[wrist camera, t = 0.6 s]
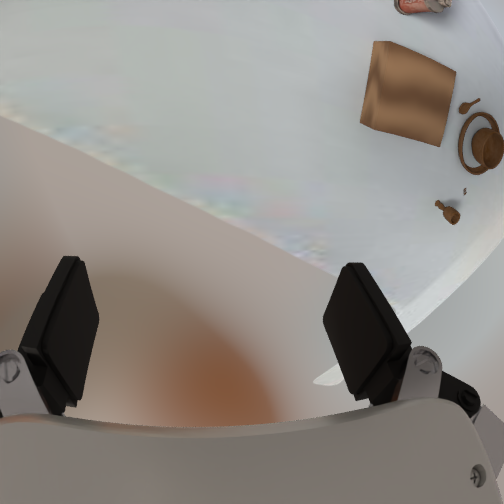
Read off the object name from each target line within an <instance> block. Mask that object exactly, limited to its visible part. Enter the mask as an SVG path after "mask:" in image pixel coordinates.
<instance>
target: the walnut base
mask: <svg viewBox="0 0 504 504" xmlns="http://www.w3.org/2000/svg"><path fill="white" fill-rule="evenodd" d="M455 77H456V71H454V70H452V69H450V68H448V67H446V66H444V65H442V64H440V63H438V62H436V61H434V60H432V59H430V58H428V57H426V56H424V55H422V54H419V53H417V52H415V51H413V50H410V49H408V48H406V47H403V46H401V45H398V44H396V43H393V42H391V41H374V43H373V50H372V57H371V63H370V69H369V75H368V81H367V87H366V92H365V98H364V103H363V108H362V114H361V119H360V123H362V124H364V125H366V126H368V127H370V128H372V129H374V130H378V131H382V132H386V133H391V134H395V135H399V136H402V137H406V138H410V139H413V140H417V141H421V142H424V143H427V144H431V145H434V146H437V147H440V145H441V141H442V137H443V134H444V130H445V125H446V121H447V117H448V113H449V108H450V103H451V98H452V93H453V88H454V83H455Z"/></svg>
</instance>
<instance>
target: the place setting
mask: <svg viewBox="0 0 504 504" xmlns="http://www.w3.org/2000/svg"><path fill="white" fill-rule="evenodd" d="M479 101H480V98H478V99H477V100H475V101H474V102H472V103H463V104H462V105H461V106H460V108H459V113H461V114H466V113H467V112H468V110H469V108H470V107H471V106H472V105H474V104H475V103H477V102H479ZM477 116H483V117H485V118H486V119H487V120H488V121H489V123H490V124H491V127H492V129H489V128H482V129H480V130H479V131H478V132H477V133H476V134H475V135H474V137H473V139H472V152H473V156H474V158H475V159H476V161H477V162H478V163H480V164H481V166H479V167H476V168H471V167H469V166H467V165H466V164H465V163H464V159H463V152H462V148H463V140H464V136H465V132H466V130H467V128H468V126H469V124H470V123H471V122H472V120H473V119H474V118H476V117H477ZM458 151H459V157H460V160H461V163H462V165H463V166H464V168H465V169H466V170H467V171H468V172H470V173H471V174H474V175H480V174H483V173H484V172H486V171H487V170H488V169H493V168H495V167H496V166H497V165H498V164H499V163H500V161H501V159H502V157H503V154H504V140H503V137H502V136H501V134H500V132H499V127H498V125H497V122H496V120H495V119H494V118H493V117H492V116H491V115H490V114H488V113H484V112H478V113H475V114H473V115H472V116H470V117H469V118H468V119H467V120H466V122H465V123H464V125H463V127H462V130H461V133H460V136H459V142H458ZM465 189H466V188H465ZM465 189H464V190H465ZM464 190H463V191H464ZM464 192H466V190H465V191H464ZM466 193H467V192H466ZM466 193H465V194H466ZM465 194H464V195H465ZM435 206H438V207H439V209H442V210H443V215H444V217H445V219H446V220H447V221H448V222H449V223H451V224H452V225H455V224H456V223H457V222H458V221H459V219H460V213H459V212H458V211H457V210H455V209H454V208H452V207H450V206H448V207H444V205H443V204H442V203H440V201H439V200H437V201H436V202H435Z"/></svg>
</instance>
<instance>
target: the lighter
mask: <svg viewBox="0 0 504 504" xmlns="http://www.w3.org/2000/svg"><path fill="white" fill-rule="evenodd" d="M451 2H452V0H394V6H395V9H396V10H397V11H398V12H399V13H400V14H403V15H408V14H411V13H418V12H434V13H440V12H442V11H443V9H444V7H451Z"/></svg>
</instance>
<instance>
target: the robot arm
mask: <svg viewBox="0 0 504 504" xmlns="http://www.w3.org/2000/svg"><path fill="white" fill-rule="evenodd" d="M98 324H99V314H98V311H97V307H96V304H95V301H94V297H93V293H92V290H91V286H90V282H89V278H88V274H87V270H86V266H85V263H84V261H81V260H80V258H79V257H78V256H63V258H62V259H61V261H60V263H59V264H58V266H57V268H56V270H55V272H54V274H53V276H52V278H51V280H50V282H49V284H48V286H47V288H46V290H45V292H44V293H43V294H42V295H41V297H40V299H39V302H38V303H37V305H36V308H35V310H34V312H33V314H32V316H31V319H30V321H29V324H28V326H27V328H26V330H25V333H24V336H23V338H22V341H21V343H20V345H19V348H18V351H15V350H6V351H2V352H1V353H0V504H503V502H502V498H501V494H500V491H499V488H498V485H497V481H496V478H497V476H498V474H499V472H500V470H501V468H502V465H503V463H504V423H503V422H502V421H501V420H500V419H499V418H498V417H497V416H496V415H495V414H494V413H493V412H492V411H490V410H489V409H488V408H487V407H486V406H485V405H484V404H483V405H482V406H480V403H481V402H480V397H479V395H478V393H477V391H476V390H475V389H474V388H473V387H471V386H470V385H468V384H466V383H464V382H462V381H461V380H458V379H457V378H455V377H453V376H451V375H449V374H447V373H445V372H443V371H442V363H441V360H440V358H439V356H438V355H437V354H436V353H435V352H434V351H433V350H431V349H430V348H427V347H424V346H417V347H414V348H413V349H412V348H411V346H410V345H411V343H412V342H411V340H410V338H409V337H408V335H407V333H406V331H405V330H404V328H403V326H402V324H401V323H400V321H399V319H398V318H397V316H396V314H395V313H394V311H393V309H392V308H391V306H390V304H389V303H388V301H387V299H386V298H385V296H384V295H383V293H382V291H381V290H380V288H379V287H378V285H377V283H376V282H375V280H374V279H373V277H372V276H371V274H370V273H369V271H368V269H367V268H366V266H365V265H364V264H363V263H347V264H346V266H344V267H343V268H342V269H341V272H340V275H339V277H338V280H337V283H336V285H335V288H334V290H333V293H332V296H331V298H330V301H329V303H328V305H327V308H326V310H325V313H324V316H323V324H324V327H325V329H326V332H327V334H328V337H329V340H330V342H331V345H332V347H333V350H334V352H335V355H336V358H337V360H338V363H339V366H340V368H341V371H342V374H343V376H344V379H345V382H346V384H347V387H348V390H349V392H350V393H351V394H354V397H355V400H356V401H358V400H363V399H367V398H369V401H370V405H369V407H368V408H364V409H359V410H354V411H349V412H345V413H340V414H334V415H328V416H323V417H316V418H310V419H303V420H296V421H289V422H280V423H270V424H260V425H246V426H228V427H160V426H143V425H130V424H119V423H110V422H101V421H93V420H85V419H79V418H72V417H66V416H65V415H64V412H65V407H66V406H70V407H76V406H77V400H81V399H82V395H83V390H84V384H85V380H86V375H87V370H88V365H89V361H90V356H91V352H92V348H93V344H94V340H95V336H96V332H97V328H98Z"/></svg>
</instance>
